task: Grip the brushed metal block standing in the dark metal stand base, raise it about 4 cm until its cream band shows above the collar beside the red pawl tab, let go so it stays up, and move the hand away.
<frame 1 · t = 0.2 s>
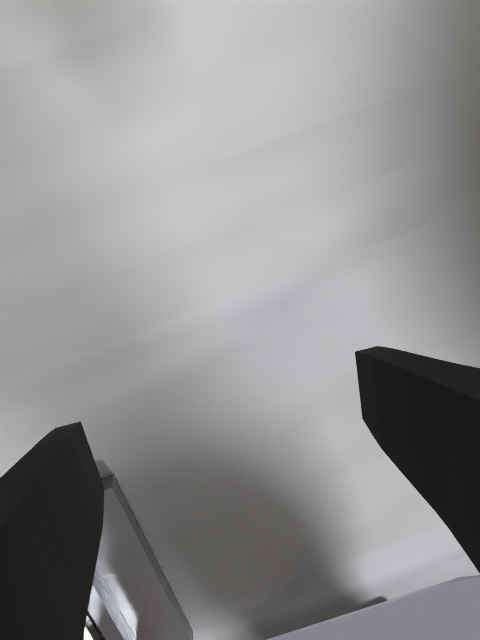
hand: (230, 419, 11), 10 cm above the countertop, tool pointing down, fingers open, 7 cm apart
stand base: (50, 601, 24), on the countertop
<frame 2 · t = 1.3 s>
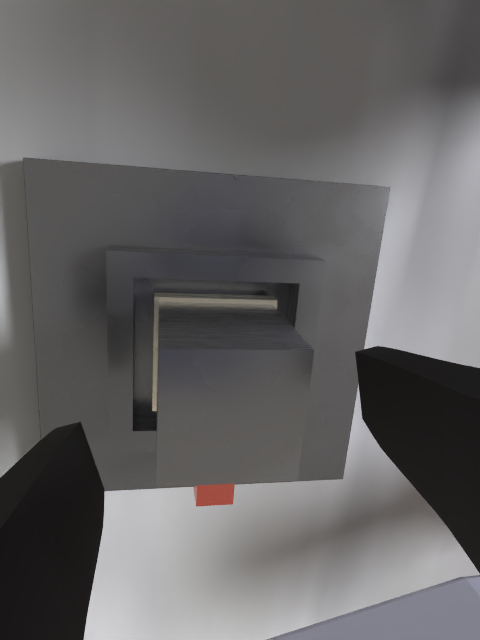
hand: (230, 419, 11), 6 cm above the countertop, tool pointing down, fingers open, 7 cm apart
brushed metal block: (220, 377, 14), point 4 cm above the countertop, slide at 0.0 cm
stand base: (207, 337, 17), on the countertop
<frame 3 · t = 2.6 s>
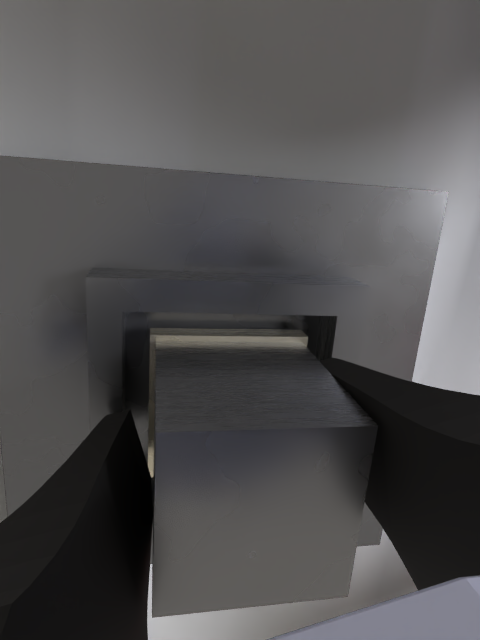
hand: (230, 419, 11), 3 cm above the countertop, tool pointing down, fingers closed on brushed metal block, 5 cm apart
brushed metal block: (237, 443, 10), point 4 cm above the countertop, slide at 0.0 cm, touching gripper
stand base: (217, 377, 14), on the countertop
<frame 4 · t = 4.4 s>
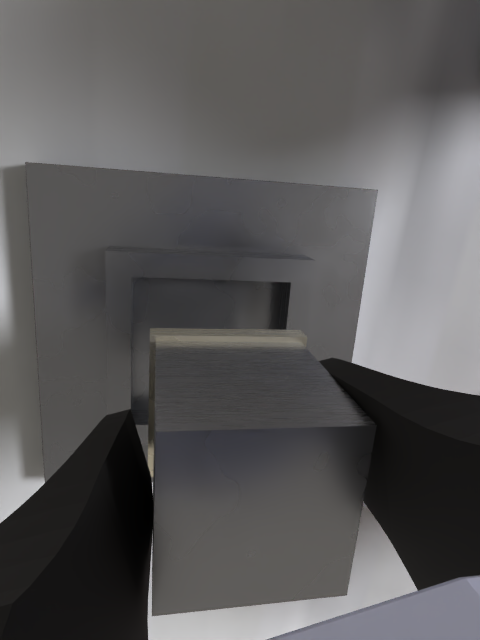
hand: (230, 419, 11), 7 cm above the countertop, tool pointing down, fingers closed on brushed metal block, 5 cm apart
brushed metal block: (237, 442, 10), point 8 cm above the countertop, slide at 4.1 cm, touching gripper
stand base: (203, 334, 18), on the countertop
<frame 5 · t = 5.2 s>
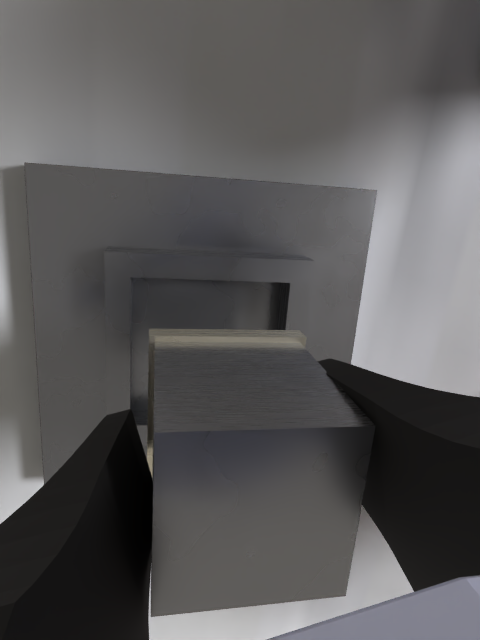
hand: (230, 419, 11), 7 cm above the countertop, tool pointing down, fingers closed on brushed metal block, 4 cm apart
brushed metal block: (236, 443, 10), point 8 cm above the countertop, slide at 4.1 cm, touching gripper
stand base: (202, 335, 18), on the countertop
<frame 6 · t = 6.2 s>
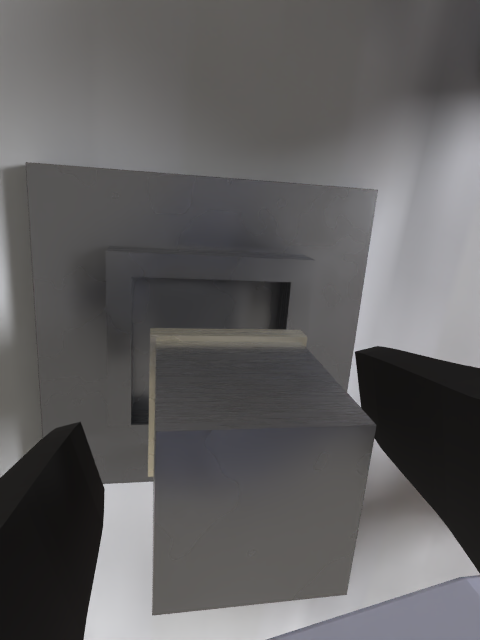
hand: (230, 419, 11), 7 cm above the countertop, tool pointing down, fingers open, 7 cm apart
brushed metal block: (237, 442, 10), point 8 cm above the countertop, slide at 4.1 cm
stand base: (203, 334, 18), on the countertop
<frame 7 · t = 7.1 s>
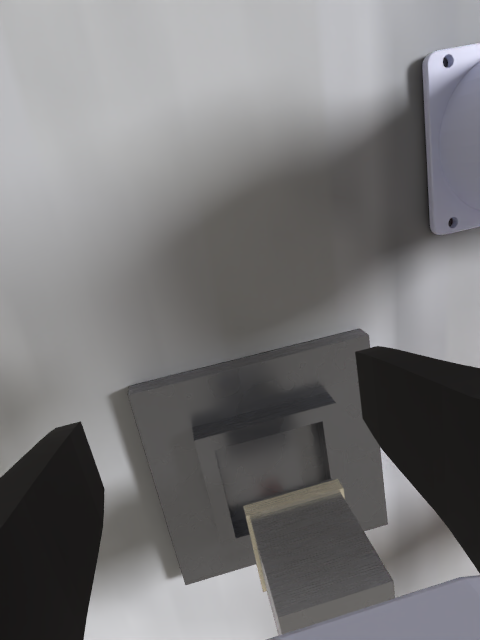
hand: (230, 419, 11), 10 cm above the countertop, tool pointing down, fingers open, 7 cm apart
brushed metal block: (316, 575, 17), point 8 cm above the countertop, slide at 4.1 cm
stand base: (267, 455, 24), on the countertop
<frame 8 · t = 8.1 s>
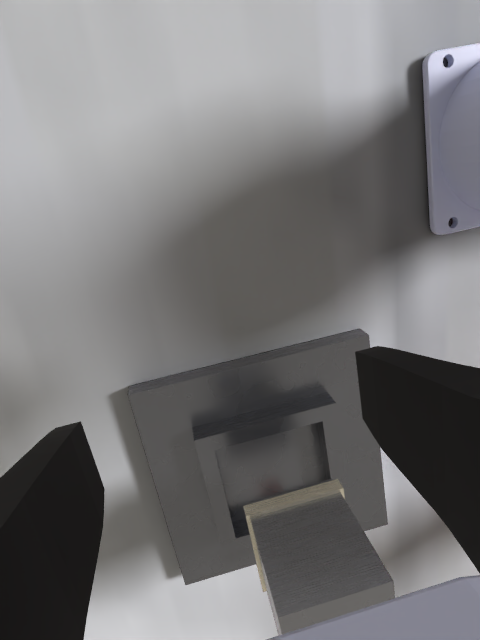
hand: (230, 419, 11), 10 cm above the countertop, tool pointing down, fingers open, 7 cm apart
brushed metal block: (316, 575, 17), point 8 cm above the countertop, slide at 4.1 cm
stand base: (267, 455, 24), on the countertop
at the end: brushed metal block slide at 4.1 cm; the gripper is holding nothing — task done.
